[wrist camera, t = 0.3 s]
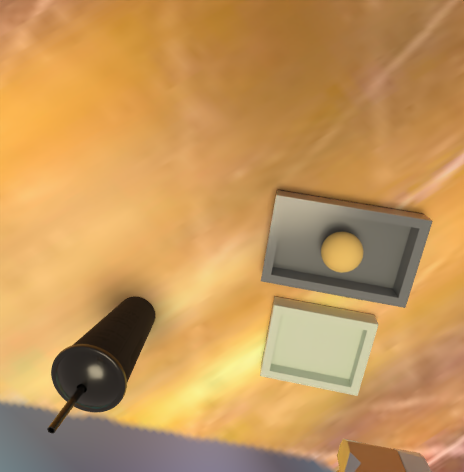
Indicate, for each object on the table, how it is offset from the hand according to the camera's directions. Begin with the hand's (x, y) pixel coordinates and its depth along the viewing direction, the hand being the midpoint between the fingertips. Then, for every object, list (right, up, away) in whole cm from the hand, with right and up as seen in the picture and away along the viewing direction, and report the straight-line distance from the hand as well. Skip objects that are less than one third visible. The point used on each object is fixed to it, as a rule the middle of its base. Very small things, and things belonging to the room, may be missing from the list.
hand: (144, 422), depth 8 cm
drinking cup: (-10, -6, +44) cm, 45 cm away
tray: (+12, -9, +41) cm, 44 cm away
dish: (+14, +3, +37) cm, 40 cm away
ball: (+14, +3, +37) cm, 39 cm away
